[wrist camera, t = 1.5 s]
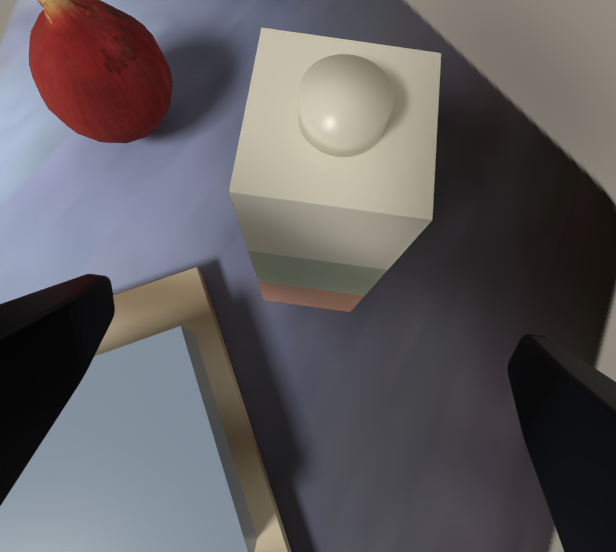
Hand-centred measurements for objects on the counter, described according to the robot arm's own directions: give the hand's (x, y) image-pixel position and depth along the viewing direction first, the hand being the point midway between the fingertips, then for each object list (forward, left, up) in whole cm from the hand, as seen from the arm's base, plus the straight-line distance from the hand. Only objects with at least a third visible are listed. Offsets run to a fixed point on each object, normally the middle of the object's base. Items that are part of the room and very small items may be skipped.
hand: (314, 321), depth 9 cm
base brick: (-2, +9, -10) cm, 13 cm away
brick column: (+4, -2, -11) cm, 12 cm away
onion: (+15, +4, -11) cm, 19 cm away
